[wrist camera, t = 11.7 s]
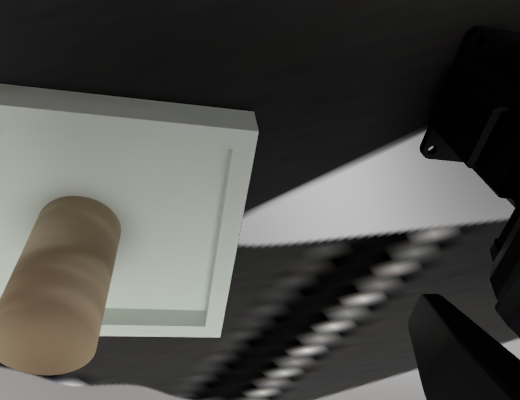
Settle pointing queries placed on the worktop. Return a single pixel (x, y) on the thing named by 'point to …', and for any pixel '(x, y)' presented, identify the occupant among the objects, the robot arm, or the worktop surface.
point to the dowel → (59, 288)
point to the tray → (134, 196)
